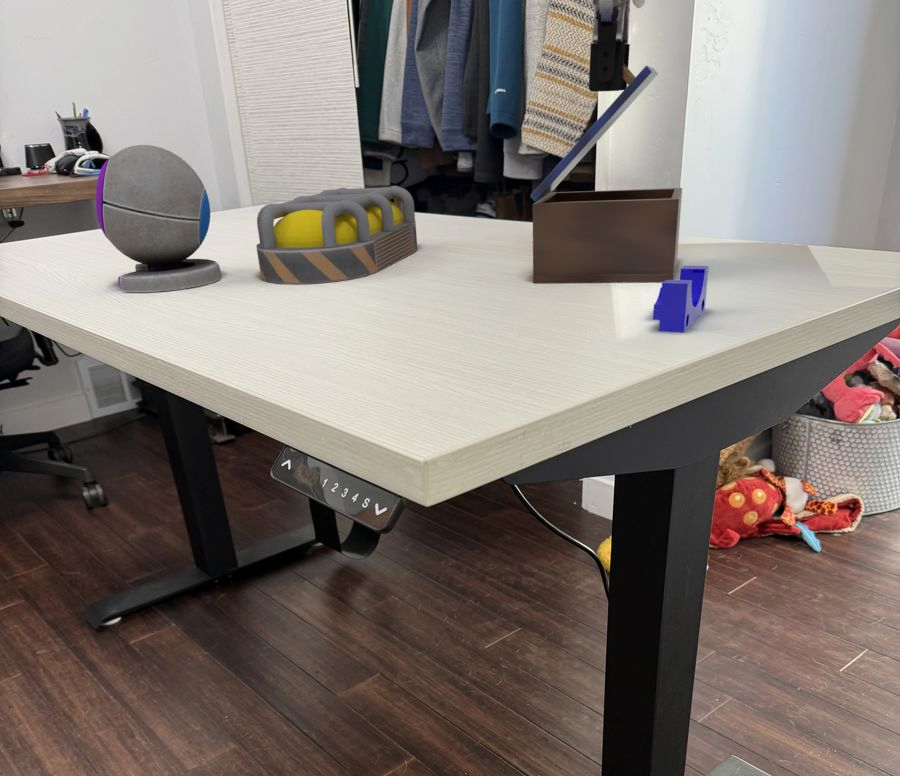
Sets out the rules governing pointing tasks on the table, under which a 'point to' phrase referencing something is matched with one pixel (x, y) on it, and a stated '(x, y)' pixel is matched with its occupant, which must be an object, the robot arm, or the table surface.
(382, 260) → the cage light
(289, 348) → the table surface
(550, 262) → the chest
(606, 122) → the lid
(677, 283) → the cable holder
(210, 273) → the grey ball on stand
